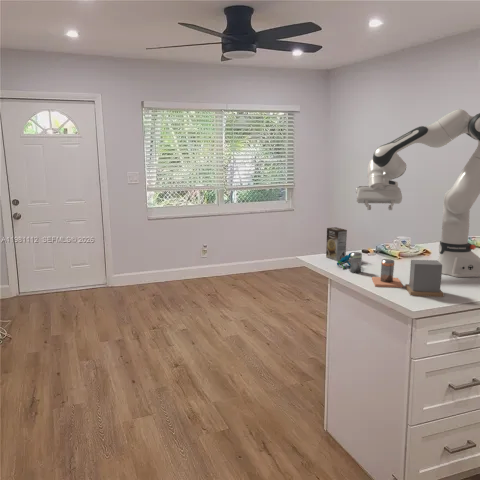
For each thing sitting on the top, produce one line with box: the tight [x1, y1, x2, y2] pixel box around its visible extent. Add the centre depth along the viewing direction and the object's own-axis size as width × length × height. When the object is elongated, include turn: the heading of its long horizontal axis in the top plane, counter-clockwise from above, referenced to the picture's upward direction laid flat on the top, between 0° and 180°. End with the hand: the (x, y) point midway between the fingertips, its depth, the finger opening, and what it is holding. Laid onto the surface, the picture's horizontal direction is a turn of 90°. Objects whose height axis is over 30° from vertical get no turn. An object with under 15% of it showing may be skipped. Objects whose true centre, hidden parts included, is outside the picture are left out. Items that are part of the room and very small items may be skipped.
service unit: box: [404, 259, 444, 298], centre depth 169 cm, size 12×10×12 cm
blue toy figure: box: [336, 252, 352, 270], centre depth 209 cm, size 11×6×10 cm
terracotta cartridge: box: [380, 258, 395, 283], centre depth 181 cm, size 5×5×9 cm
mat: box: [371, 276, 404, 288], centre depth 182 cm, size 11×11×1 cm
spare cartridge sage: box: [349, 251, 363, 274], centre depth 200 cm, size 5×5×9 cm
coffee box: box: [325, 226, 348, 262], centre depth 225 cm, size 9×6×16 cm
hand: (379, 209), depth 196 cm, fingers open, 8 cm apart
